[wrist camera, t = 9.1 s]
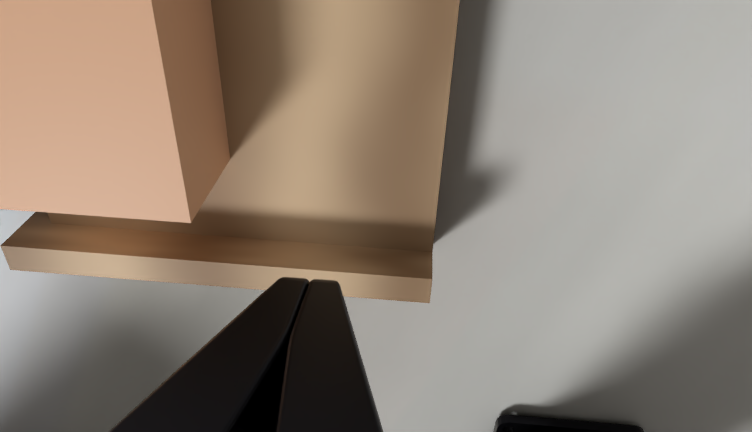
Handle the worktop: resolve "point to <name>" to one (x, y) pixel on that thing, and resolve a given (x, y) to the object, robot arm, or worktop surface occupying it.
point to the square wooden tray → (297, 159)
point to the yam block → (110, 108)
